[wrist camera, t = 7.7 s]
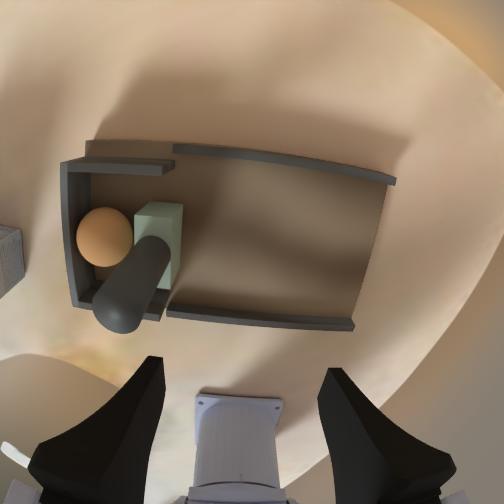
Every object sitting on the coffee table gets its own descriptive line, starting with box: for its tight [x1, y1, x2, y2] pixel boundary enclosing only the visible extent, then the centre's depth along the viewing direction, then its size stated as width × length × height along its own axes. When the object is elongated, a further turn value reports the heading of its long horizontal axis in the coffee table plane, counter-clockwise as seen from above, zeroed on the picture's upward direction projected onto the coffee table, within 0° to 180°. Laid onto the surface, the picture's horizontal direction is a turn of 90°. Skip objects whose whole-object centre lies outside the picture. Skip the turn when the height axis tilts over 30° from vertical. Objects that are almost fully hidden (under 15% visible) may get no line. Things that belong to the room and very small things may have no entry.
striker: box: [92, 201, 183, 334], centre depth 14 cm, size 4×2×8 cm, turn 173°
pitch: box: [60, 140, 397, 331], centre depth 18 cm, size 11×19×4 cm, turn 83°
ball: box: [77, 207, 133, 267], centre depth 16 cm, size 4×4×4 cm
